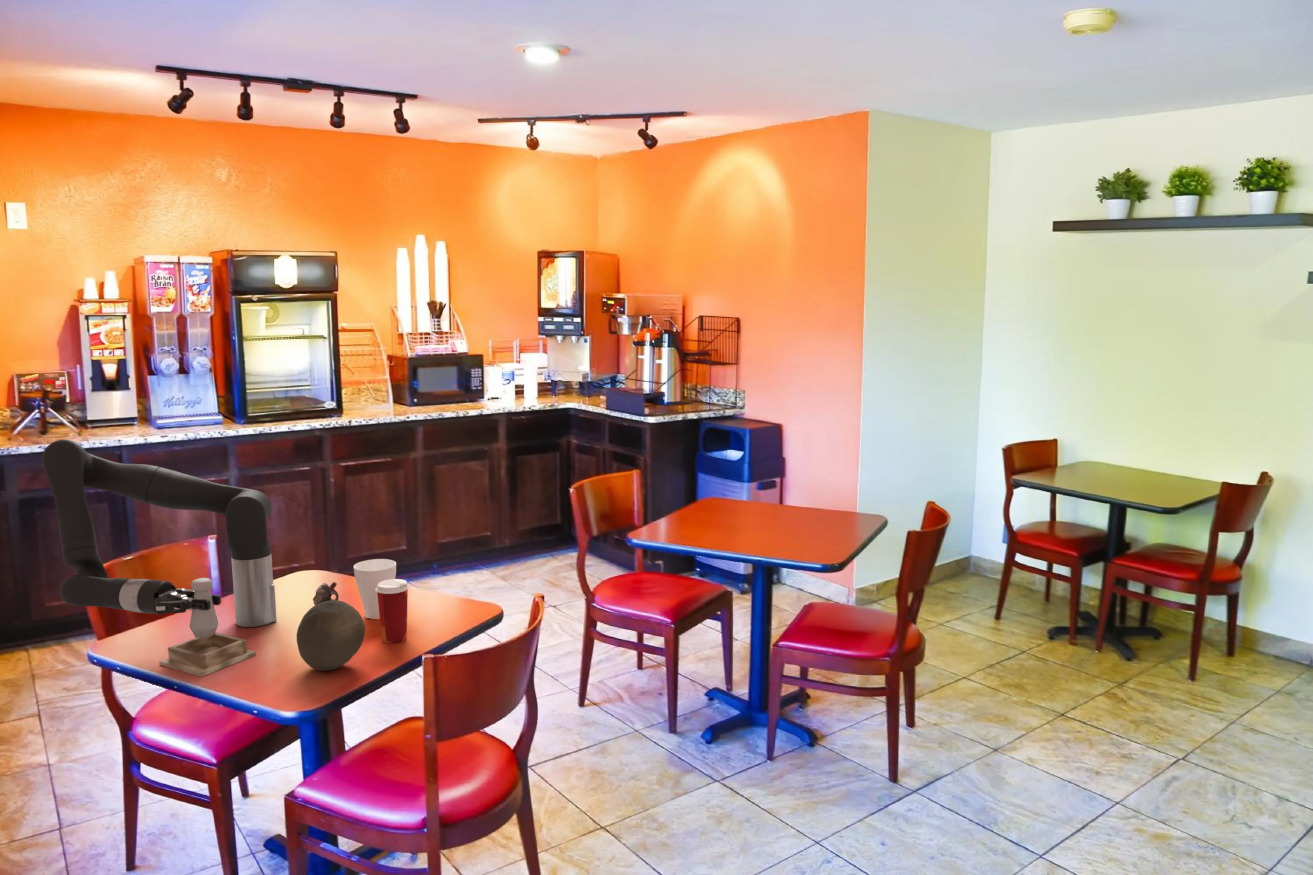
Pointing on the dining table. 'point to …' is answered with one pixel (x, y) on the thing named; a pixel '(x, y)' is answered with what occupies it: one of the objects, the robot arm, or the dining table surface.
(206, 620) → the salt shaker
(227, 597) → the dining table surface
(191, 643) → the tray
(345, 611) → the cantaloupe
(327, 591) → the figurine
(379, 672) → the dining table surface
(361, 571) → the cup
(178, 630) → the dining table surface
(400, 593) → the paper cup
